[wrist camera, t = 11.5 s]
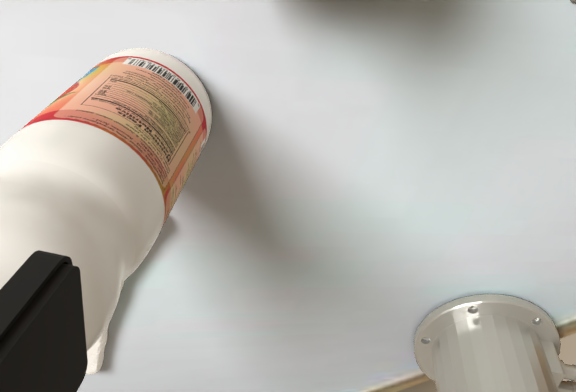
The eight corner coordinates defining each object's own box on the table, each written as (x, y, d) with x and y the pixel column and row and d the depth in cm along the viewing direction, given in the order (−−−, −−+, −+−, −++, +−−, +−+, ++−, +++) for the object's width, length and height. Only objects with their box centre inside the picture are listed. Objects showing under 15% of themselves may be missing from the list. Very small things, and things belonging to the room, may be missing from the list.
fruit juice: (217, 166, 42) (37, 566, 19) (102, 155, 43) (-206, 527, 20) (212, 49, 37) (-45, 407, 14) (81, 38, 37) (-374, 362, 14)
